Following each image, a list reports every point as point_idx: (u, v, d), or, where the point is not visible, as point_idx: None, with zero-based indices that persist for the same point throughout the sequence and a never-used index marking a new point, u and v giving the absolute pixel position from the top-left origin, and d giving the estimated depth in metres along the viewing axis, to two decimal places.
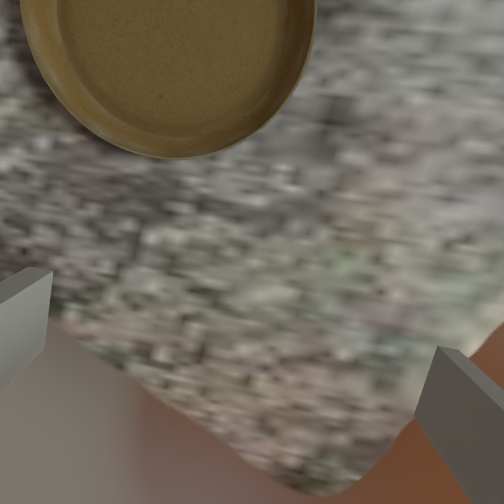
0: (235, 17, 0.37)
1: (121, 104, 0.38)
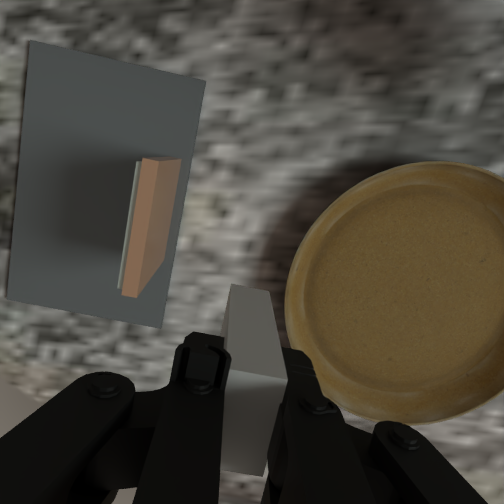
0: (469, 292, 0.39)
1: (353, 366, 0.40)
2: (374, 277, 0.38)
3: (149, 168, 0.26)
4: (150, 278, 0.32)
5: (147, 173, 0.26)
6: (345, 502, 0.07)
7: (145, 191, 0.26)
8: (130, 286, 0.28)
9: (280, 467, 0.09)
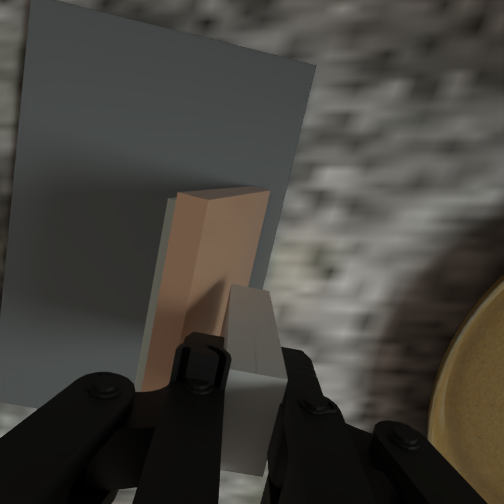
0: None
1: None
2: None
3: (189, 213, 0.13)
4: None
5: (185, 223, 0.13)
6: (345, 502, 0.07)
7: (180, 258, 0.13)
8: None
9: (280, 467, 0.09)
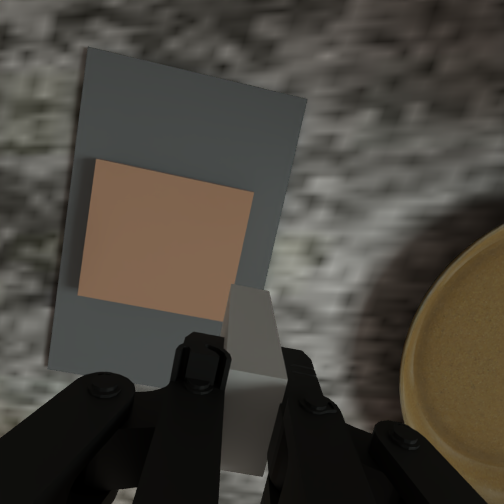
0: None
1: (467, 439, 0.33)
2: (499, 335, 0.32)
3: None
4: None
5: None
6: (345, 502, 0.07)
7: None
8: None
9: (280, 467, 0.09)
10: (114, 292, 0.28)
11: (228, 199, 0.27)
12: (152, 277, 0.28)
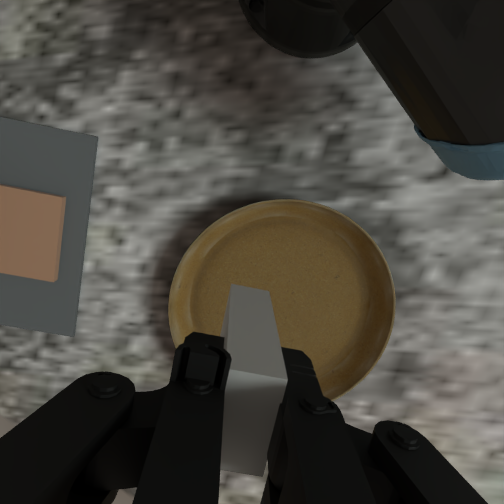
0: (328, 303, 0.47)
1: None
2: None
3: None
4: None
5: None
6: (345, 502, 0.07)
7: None
8: None
9: (280, 467, 0.09)
10: None
11: (46, 202, 0.42)
12: (2, 252, 0.43)
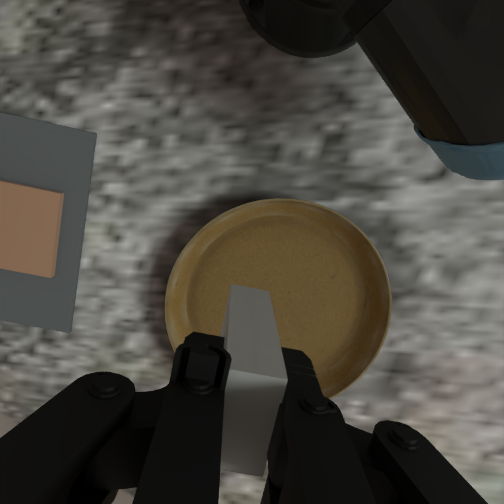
0: (324, 302, 0.47)
1: None
2: None
3: None
4: None
5: None
6: (345, 502, 0.07)
7: None
8: None
9: (280, 467, 0.09)
10: None
11: (44, 197, 0.42)
12: None
